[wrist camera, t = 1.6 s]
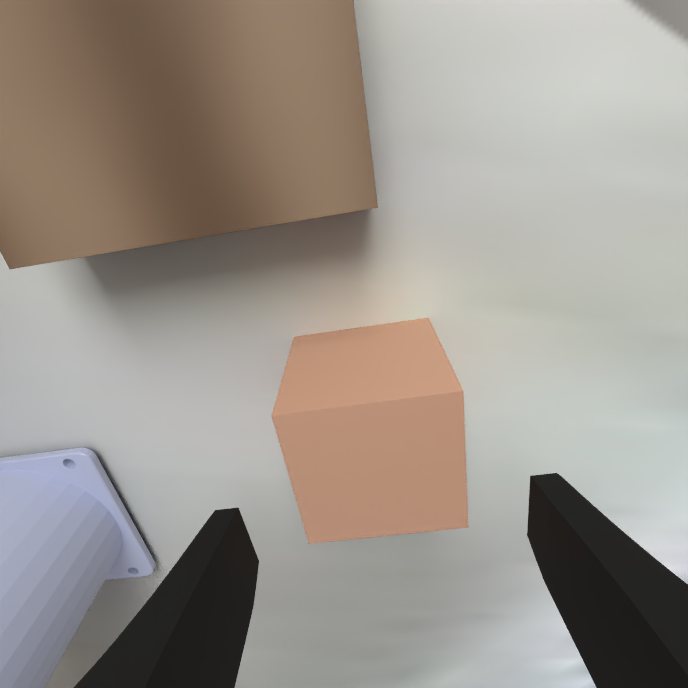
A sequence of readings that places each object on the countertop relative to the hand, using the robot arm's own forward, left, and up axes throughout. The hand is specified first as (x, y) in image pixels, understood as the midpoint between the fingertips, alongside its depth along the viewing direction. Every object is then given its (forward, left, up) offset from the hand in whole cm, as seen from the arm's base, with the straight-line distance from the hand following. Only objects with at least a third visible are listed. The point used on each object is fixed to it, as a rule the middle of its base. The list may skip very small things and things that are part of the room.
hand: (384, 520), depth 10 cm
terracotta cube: (0, 0, -7) cm, 7 cm away
